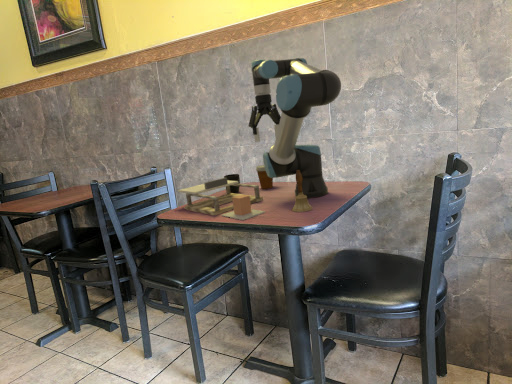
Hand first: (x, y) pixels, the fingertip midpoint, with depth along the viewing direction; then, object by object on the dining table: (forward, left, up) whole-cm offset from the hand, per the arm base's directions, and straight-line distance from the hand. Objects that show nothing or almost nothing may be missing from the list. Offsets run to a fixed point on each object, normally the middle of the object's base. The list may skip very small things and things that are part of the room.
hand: (268, 139), depth 179 cm
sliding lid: (+18, +26, -19) cm, 37 cm away
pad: (-16, +33, -27) cm, 45 cm away
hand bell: (-34, +17, -27) cm, 47 cm away
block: (-16, +33, -26) cm, 45 cm away
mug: (+26, +5, -27) cm, 38 cm away
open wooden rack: (+7, +26, -27) cm, 38 cm away
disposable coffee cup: (+15, -9, -27) cm, 32 cm away
